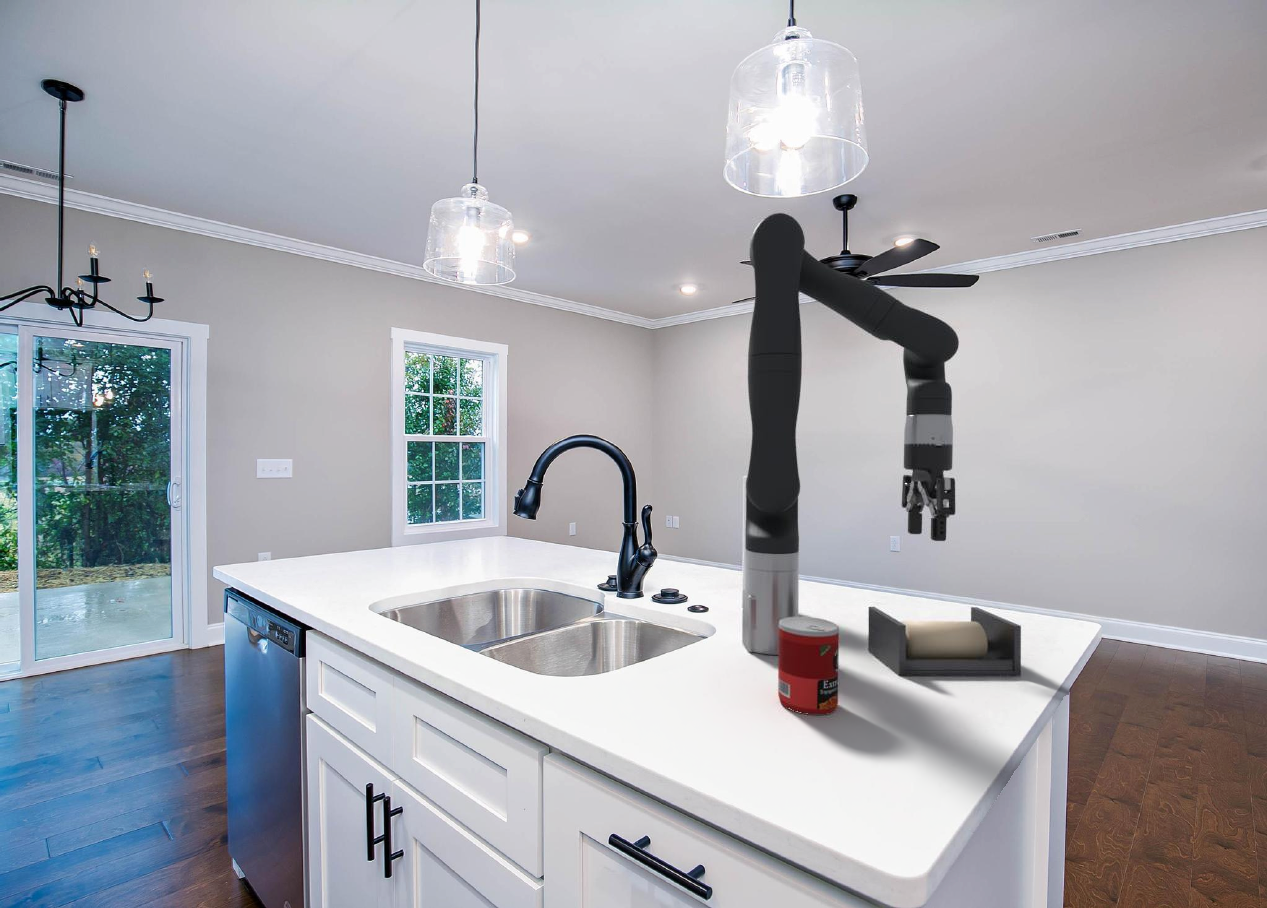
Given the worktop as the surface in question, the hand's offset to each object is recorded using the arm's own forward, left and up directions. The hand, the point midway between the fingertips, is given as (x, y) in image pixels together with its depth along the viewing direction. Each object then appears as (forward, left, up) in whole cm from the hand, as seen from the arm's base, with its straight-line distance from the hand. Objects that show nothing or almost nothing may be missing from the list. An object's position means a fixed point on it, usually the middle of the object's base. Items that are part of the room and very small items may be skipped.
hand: (926, 537), depth 105 cm
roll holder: (+1, -4, -20) cm, 21 cm away
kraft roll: (+1, -4, -19) cm, 20 cm away
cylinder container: (-20, +32, -21) cm, 43 cm away
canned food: (-26, -21, -21) cm, 39 cm away
